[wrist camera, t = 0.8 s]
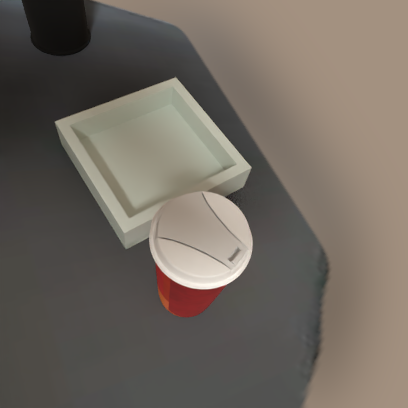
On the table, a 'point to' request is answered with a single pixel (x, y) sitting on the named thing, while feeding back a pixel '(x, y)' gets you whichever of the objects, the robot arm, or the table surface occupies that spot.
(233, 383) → the table surface
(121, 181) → the tray
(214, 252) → the paper cup
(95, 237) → the table surface
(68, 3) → the aerosol can
